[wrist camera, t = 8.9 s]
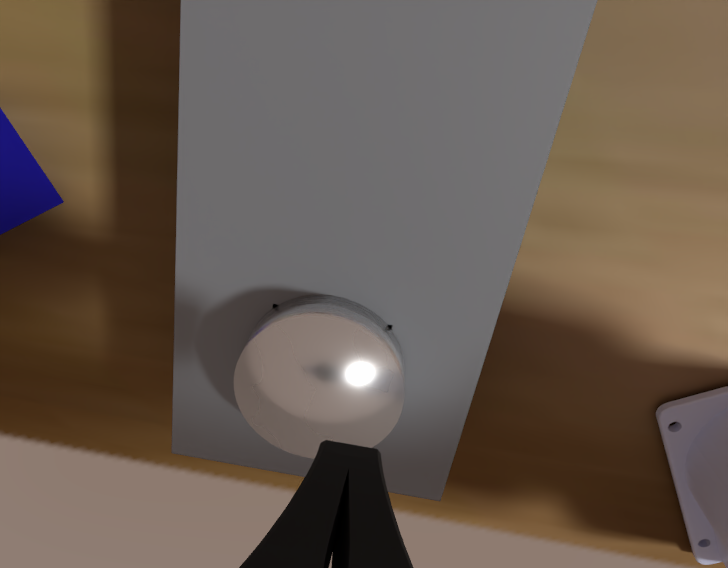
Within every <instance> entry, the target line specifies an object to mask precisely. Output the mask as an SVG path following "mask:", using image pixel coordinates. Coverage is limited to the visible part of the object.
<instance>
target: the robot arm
mask: <svg viewBox="0 0 728 568" xmlns="http://www.w3.org/2000/svg"><path fill="white" fill-rule="evenodd" d="M656 418H657V422H658V425H659V429H660V433H661V436H662V440H663V444H664V448H665V451H666V455H667V459H668V463H669V466H670V470H671V474H672V477H673V481H674V485H675V489H676V492H677V496H678V500H679V503H680V507H681V511H682V515H683V518H684V522H685V526H686V530H687V533H688V537H689V541H690V544H691V548H692V552H693V555H694V557H695V558H696V560H697V562H699V563H700V564H704V565H709V564H714V563H719V562H723V563H724V564H725V566H726V568H728V386H726V387H722V388H718V389H715V390H711V391H707V392H704V393H700V394H696V395H693V396H689V397H685V398H682V399H678V400H675V401H671V402H667V403H665V404H662V405H661V406H660V407H658V409H657V411H656ZM673 422H676V423H675V424H674V425H672V426H669V424H670V423H673ZM332 552H333V553H332ZM331 556H332V568H413V566H412V563H411V561H410V558H409V555H408V553H407V550H406V548H405V545H404V542H403V539H402V537H401V534H400V531H399V528H398V525H397V522H396V518H395V515H394V512H393V509H392V506H391V502H390V498H389V495H388V491H387V486H386V482H385V478H384V473H383V467H382V460H381V453H380V452H379V451H378V449H375V448H369V447H363V446H358V445H352V444H346V443H341V442H335V441H329V440H325V441H323V442H321V443H320V446H319V449H318V452H317V454H316V456H315V459H314V461H313V463H312V465H311V467H310V469H309V471H308V473H307V474H306V476H305V478H304V480H303V482H302V483H301V485H300V486H299V488H298V490H297V491H296V493H295V494H294V496H293V498H292V499H291V501H290V503H289V504H288V506H287V507H286V509H285V510H284V511H283V513H282V514H281V516H280V517H279V518H278V520H277V521H276V522H275V524H274V525H273V526H272V528H271V529H270V531H269V532H268V533H267V535H266V536H265V537H264V539H263V540H262V541H261V543H260V544H259V545H258V546H257V547H256V549H255V550H254V551H253V552H252V553H251V555H250V556H249V557H248V558H247V559H246V560H245V562H244V563H243V564H242V565H241V566H240V567H239V568H328V567H329V564H330V560H331Z"/></svg>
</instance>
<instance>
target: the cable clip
mask: <svg viewBox="0 0 728 568" xmlns="http://www.w3.org/2000/svg"><path fill="white" fill-rule="evenodd" d="M61 203H63V200H62V199H61V197H60V196H59V194H58V193H57V191H56V190H55V188H54V187H53V185H52V184H51V182H50V181H49V179H48V178H47V176H46V175H45V173H44V172H43V170H42V169H41V167H40V166H39V164H38V163H37V162H36V160H35V159H34V157H33V156H32V154H31V153H30V151H29V150H28V148H27V147H26V145H25V144H24V142H23V141H22V139H21V138H20V136H19V135H18V133H17V132H16V130H15V129H14V127H13V126H12V124H11V123H10V122H9V120H8V119H7V117H6V116H5V114H4V113H3V111H2V110H1V108H0V235H1V234H3V233H5V232H7V231H8V230H10V229H12V228H14V227H16V226H18V225H20V224H22V223H24V222H26V221H28V220H30V219H32V218H34V217H36V216H38V215H40V214H42V213H44V212H46V211H47V210H49V209H51V208H53V207H55V206H57V205H59V204H61Z"/></svg>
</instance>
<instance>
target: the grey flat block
mask: <svg viewBox="0 0 728 568" xmlns="http://www.w3.org/2000/svg"><path fill="white" fill-rule="evenodd" d="M596 3H597V0H181V18H180V67H179V117H178V166H177V216H176V265H175V315H174V364H173V414H172V453H174V454H180V455H185V456H191V457H197V458H202V459H208V460H213V461H219V462H224V463H230V464H236V465H241V466H247V467H252V468H258V469H263V470H269V471H275V472H280V473H286V474H291V475H297V476H303V477H305V476H306V474H307V473H308V471H309V469H310V467H311V465H312V463H313V461H314V459H312V458H307V457H301V456H298V455H295V454H291V453H289V452H286V451H284V450H282V449H280V448H278V447H276V446H274V445H272V444H271V443H269V442H268V441H266V440H265V439H264V438H262V437H261V436H260V435H259V434H258V433H257V432H256V431H255V430H254V429H253V428H252V427H251V426H250V425H249V423H248V422H247V421H246V419H245V418H244V416H243V415H242V413H241V411H240V409H239V406H238V404H237V401H236V397H235V393H234V372H235V368H236V365H237V362H238V360H239V357H240V355H241V353H242V351H243V349H244V347H245V345H246V343H247V341H248V339H249V337H250V335H251V333H252V331H253V329H254V328H255V326H256V325H257V323H258V322H259V321H260V320H261V319H262V317H263V316H264V315H265V314H266V313H268V312H269V311H270V310H271V309H273V308H274V307H276V306H278V305H279V304H281V303H283V302H286V301H288V300H290V299H294V298H297V297H301V296H307V295H333V296H338V297H343V298H346V299H349V300H352V301H355V302H357V303H359V304H361V305H364V306H365V307H367V308H368V309H370V310H372V311H373V312H374V313H376V314H377V315H378V316H379V317H381V318H382V319H383V320H384V321H385V322H386V323H387V324H388V326H389V327H390V328H391V330H392V331H393V332H394V334H395V336H396V338H397V339H398V341H399V344H400V346H401V349H402V353H403V358H404V403H403V408H402V412H401V415H400V417H399V419H398V422H397V423H396V425H395V426H394V428H393V430H392V431H391V432H390V433H389V434H388V435H387V436H386V437H385V438H384V439H383V440H382V441H381V442H380V443H378V444H377V445H375V446H374V447H372V448H375V449H378V451H379V452H380V453H381V460H382V467H383V473H384V478H385V482H386V486H387V491H388V492H392V493H397V494H403V495H409V496H414V497H420V498H425V499H431V500H436V501H440V500H441V497H442V494H443V491H444V487H445V484H446V481H447V478H448V475H449V472H450V468H451V465H452V462H453V459H454V456H455V452H456V449H457V446H458V443H459V440H460V436H461V433H462V430H463V427H464V424H465V420H466V417H467V414H468V411H469V408H470V405H471V401H472V398H473V395H474V392H475V389H476V385H477V382H478V379H479V376H480V373H481V369H482V366H483V363H484V360H485V357H486V354H487V350H488V347H489V344H490V341H491V338H492V334H493V331H494V328H495V325H496V322H497V318H498V315H499V312H500V309H501V306H502V303H503V299H504V296H505V293H506V290H507V287H508V283H509V280H510V277H511V274H512V271H513V267H514V264H515V261H516V258H517V255H518V252H519V248H520V245H521V242H522V239H523V236H524V232H525V229H526V226H527V223H528V220H529V216H530V213H531V210H532V207H533V204H534V201H535V197H536V194H537V191H538V188H539V185H540V181H541V178H542V175H543V172H544V169H545V165H546V162H547V159H548V156H549V153H550V149H551V146H552V143H553V140H554V137H555V134H556V130H557V127H558V124H559V121H560V118H561V114H562V111H563V108H564V105H565V102H566V98H567V95H568V92H569V89H570V86H571V83H572V79H573V76H574V73H575V70H576V67H577V63H578V60H579V57H580V54H581V51H582V47H583V44H584V41H585V38H586V35H587V32H588V28H589V25H590V22H591V19H592V16H593V12H594V9H595V6H596Z"/></svg>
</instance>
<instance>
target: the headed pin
mask: <svg viewBox="0 0 728 568" xmlns="http://www.w3.org/2000/svg"><path fill="white" fill-rule="evenodd" d="M234 393H235V397H236V401H237V404H238V406H239V409H240V411H241V413H242V415H243V416H244V418H245V419H246V421H247V422H248V423H249V425H250V426H251V427H252V428H253V429H254V430H255V431H256V432H257V433H258V434H259V435H260V436H261V437H262V438H264V439H265V440H266V441H268V442H269V443H271V444H272V445H274V446H276V447H278V448H280V449H282V450H284V451H286V452H289V453H291V454H295V455H298V456H301V457H307V458H312V459H315V456H316V454H317V452H318V449H319V446H320V443H321V442H323V441H325V440H329V441H335V442H341V443H346V444H352V445H358V446H363V447H369V448H372V447H374V446H375V445H377V444H378V443H380V442H381V441H382V440H383V439H384V438H385V437H386V436H387V435H388V434H389V433H390V432H391V431H392V430H393V428H394V426H395V425H396V423H397V422H398V419H399V417H400V415H401V412H402V408H403V403H404V358H403V353H402V349H401V346H400V344H399V341H398V339H397V338H396V336H395V334H394V332H393V331H392V330H391V328H390V327H389V326H388V324H387V323H386V322H385V321H384V320H383V319H382V318H381V317H379V316H378V315H377V314H376V313H374V312H373V311H372V310H370V309H368V308H367V307H365V306H364V305H361V304H359V303H357V302H355V301H352V300H349V299H346V298H343V297H338V296H333V295H307V296H301V297H297V298H294V299H290V300H288V301H286V302H283V303H281V304H279V305H278V306H276V307H274V308H273V309H271V310H270V311H269V312H268V313H266V314H265V315H264V316H263V317H262V319H261V320H260V321H259V322H258V323H257V325H256V326H255V328H254V329H253V331H252V333H251V335H250V337H249V339H248V341H247V343H246V345H245V347H244V349H243V351H242V353H241V355H240V357H239V360H238V362H237V365H236V368H235V372H234Z"/></svg>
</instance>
